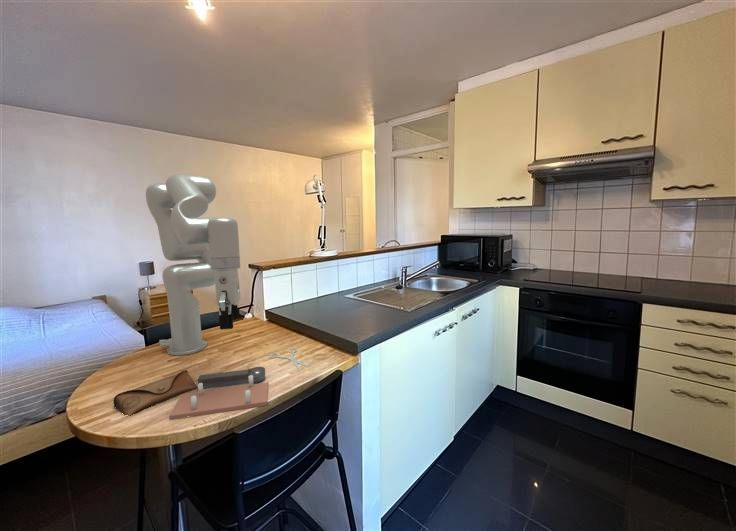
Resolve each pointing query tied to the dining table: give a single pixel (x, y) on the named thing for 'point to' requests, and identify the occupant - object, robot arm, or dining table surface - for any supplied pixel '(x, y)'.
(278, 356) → the scissors
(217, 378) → the grey spoon
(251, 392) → the peg rack
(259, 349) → the dining table surface
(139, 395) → the sunglasses case
